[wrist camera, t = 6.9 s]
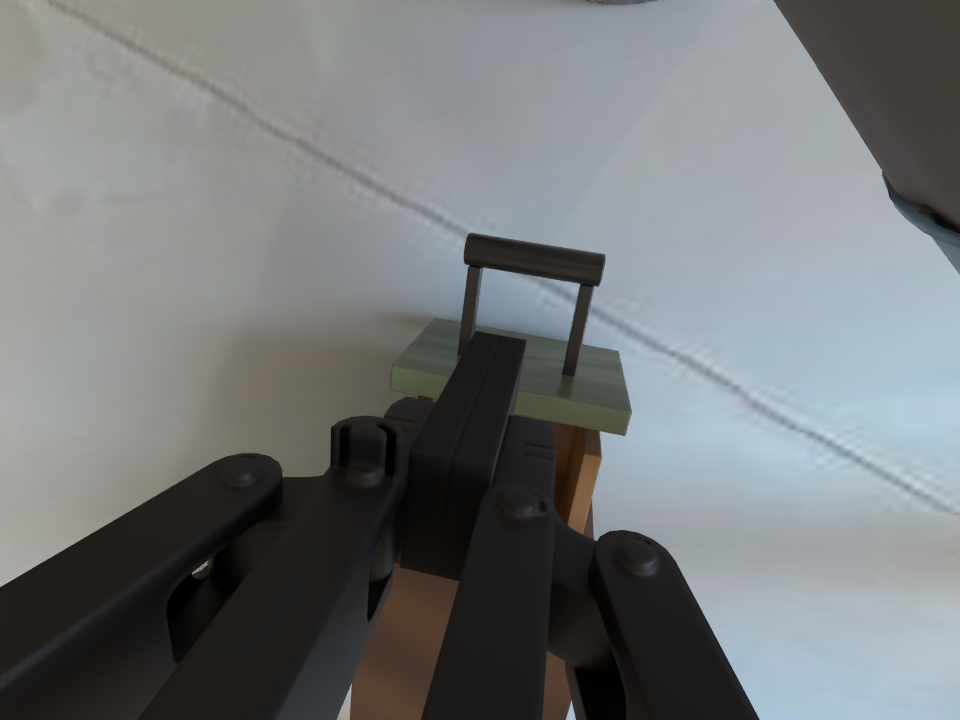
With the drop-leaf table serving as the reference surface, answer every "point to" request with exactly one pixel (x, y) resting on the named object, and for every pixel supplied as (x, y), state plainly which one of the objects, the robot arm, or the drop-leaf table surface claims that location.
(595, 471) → the drawer
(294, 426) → the drop-leaf table surface
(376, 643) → the cabinet
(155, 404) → the drop-leaf table surface
